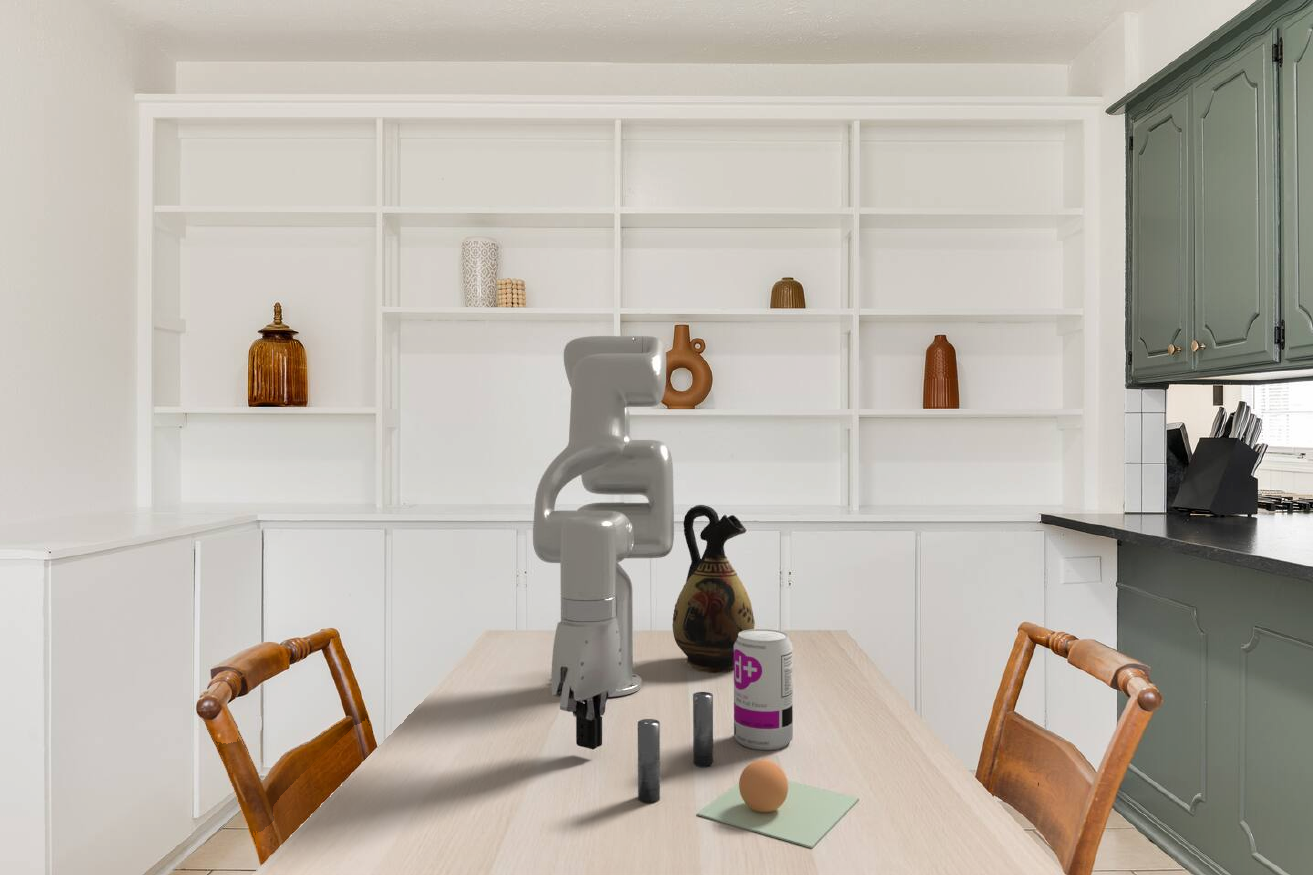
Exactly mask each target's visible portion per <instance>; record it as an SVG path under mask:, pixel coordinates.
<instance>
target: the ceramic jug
mask: <svg viewBox="0 0 1313 875" xmlns="http://www.w3.org/2000/svg"><path fill="white" fill-rule="evenodd" d="M700 517H706V518H708V520H709V523H708V524H707V525H706V526H705V527H704V528H703V529H702V530H701V532H700V533H699V534H700V535H699V538H700V540H703V541H706V546H705V550H704V551H703V553H702V556H701V555H700V550H699V547H698V544H697V539H696V536H695V530H694V523H695V519H697V518H700ZM746 532H747V529H746V528H745V526H744V525H743V524H742V522H741V520H739V518H737V516H735V515H734V514H732V515H729V516H727V514H724V515H723V516H722V517H721V518H720V519H719V515H718V512H717V511H715V509H713V508H712V507H711V506H708V505H705V504H697V505H695V506H693V507H690V509H688V510H687V512H686V514H685V516H684V519H683V534H684V537H685V540H686V541H685V542H686V545H687V549H688V551H689V555H690V560H691V561H690V562H691V563H690V565H689V569H688V572H687V575H686V580H685V581H686V582H685V583H684V585H683V587H682V588H681V591H680V592H679V595H678V598H677V599H676V603H675V604H674V609H673V613H672V614H673V615H672V616H673V617H672V633H673V638H674V641H675V643H676V645H677V647H678V648H679V649H680V650H681V651H682V652H683V653H684V655H685V656H686V657H687V659H686V664H687V665H688V666H689V667H690V668H691V669H694V670H697V671H702V672H703V671H704V672H707V673H711V674H712V673H713V674H714V673H715V674H717V673H721V672H731V671H734V644H735V642H736V640H737V638H738V634H739V632H742V631H745V630H752V629H755V626H756V622H755V617H754V612H753V606H752V603H751V598H750V597H749V595H748V592H747V590H746V588H745V586H744V584H743V582H742V580H741V579H740V577H739V575H738V574H737V572H736V570H735V569H734V568H733V566H732V564H731V563H730V561H729V560H728V557H727V556H726V553H725V543H726V542H727V541H728V540H730V539H733V538H734V537H737V536H740V535H742V534H743V535H744V534H746Z"/></svg>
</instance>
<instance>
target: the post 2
mask: <svg viewBox="0 0 1313 875" xmlns="http://www.w3.org/2000/svg"><path fill="white" fill-rule="evenodd" d="M713 710H714V694H713V693H711V692H707V691H696V692H694V693H693V694H692V745H693V746H692V748H693V749H692V751H693V752H692V755H693V756H692V758H693V760H692V761H693V762H692V764H693V765H694V766H696V767H699V768H709V767H711V766H713V765H714V711H713Z"/></svg>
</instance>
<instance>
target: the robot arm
mask: <svg viewBox="0 0 1313 875" xmlns="http://www.w3.org/2000/svg"><path fill="white" fill-rule="evenodd" d="M563 364H564V370H565V375H566V377H567V381H568V384H569V386H570V388H571V391H570V395H571V396H570V412H569V414H570V415H569V431H568V443H567V445H566V447H565V448H564V449H563V450H562V451H561V452H560V453H559V454H558V455H557V456H556V457H555V458H554V459H553V460H552V462H550V464H549V465H548V466H547V468H546V469H545V471H544V473H543V474H542V476H541V479H540V481H539V483H538V486H537V488H536V489H537V490H536V492H535V499H534V500H535V501H534V509H533V510H534V511H533V512H534V513H533V524H532V526H533V527H532V545H533V550H534V553H535V555H536V556H537V557H538V559H540V560H541V561H543V562H544V563H550V564H559V565H560V570H559V571H560V621H559V622H557V625H556V628H555V629H556V630H555V633H554V638H553V639H554V640H553V645H552V646H553V647H552V658H551V659H552V660H551V672H550V673H551V676H550V677H551V678H550V679H551V680H550V684H551V685H550V686H551V694H552V696H554V697H560V703H559V710H561V711H564V712H568V713H572V716H573V717H574V718H575V732H576V733H575V736H576V737H575V741H576V745H577V746H578V747H582V748H585V749H590V750H595V749H597V748H599V747H601V746H602V745H603V716H604V714H605V713H606V704H607V702H608V699H609V698H615V697H622V696H626V695H630V694H633V693H636V692H637V691H640V689H641V688H642V687H643V682H642V678H641V676H639V675H638V674H635V673H634V667H633V666H634V658H633V657H634V653H633V652H634V650H633V649H634V648H633V646H634V640H633V638H634V635H633V634H634V633H633V632H634V631H633V629H634V627H633V623H634V621H633V620H634V619H633V618H634V617H633V616H634V615H633V611H634V610H633V608H634V607H633V604H634V603H633V592H634V591H633V583H632V581H631V578H630V575H629V574H628V573H627V572H626V571H625V569H624V568H623V567H622V566H621V565H620V562H623V560H625V559H660V558H665V557H666V556H668V555H669V554H670V553H671V552H672V549H673V545H674V539H675V538H674V537H675V515H674V512H675V510H674V508H675V506H674V505H675V504H674V500H675V499H674V498H675V497H674V469H673V468H674V466H673V457H672V454H671V451H670V448H669V447H668V445H667V444H665V443H664V442H662V441H661V440H654V439H631V435H630V429H631V428H630V419H631V417H630V411H629V409H628V408H644V407H645V408H653V407H656V406H658V405H659V404H661V403H662V401H663V399H664V395H665V392H666V385H667V352H666V349H665V345H664V343H663V341H662V340H661V339H660V338H658V337H655V336H648V335H619V336H618V335H613V336H612V335H596V336H594V335H593V336H592V335H591V336H583V337H578V338H574V339H572V340H570V341H568V342H567V343H566V345H565V346H564V349H563ZM579 476H581V482H582V485H583V487H584V489H585V490H586V491H587V492H589V493H592V494H595V495H609V496H610V495H611V496H612V495H613V496H614V495H620V496H622V495H623V496H624V495H625V496H628V495H629V496H633V495H639V496H644V497H645V498H646V499H647V501H648V502H618V501H617V502H592V503H588V504H585V505H583V506H581V507H579V508H578V509H576V510H555V507H556V501H557V498H558V495H559V493H560V492H561V490H563V488H564V487H565V486H567V484H568V483H570V482H571V481H573V480H574V479H576V478H578V477H579Z"/></svg>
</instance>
